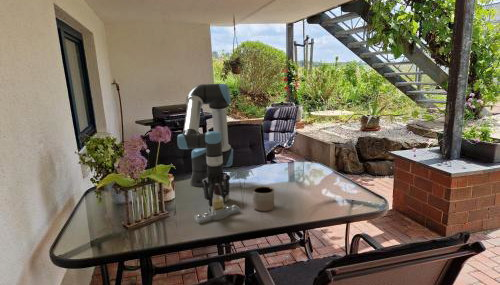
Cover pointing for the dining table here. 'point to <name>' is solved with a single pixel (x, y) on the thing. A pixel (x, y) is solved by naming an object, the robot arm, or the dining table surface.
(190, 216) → the dining table surface
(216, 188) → the coffee cup
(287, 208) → the dining table surface
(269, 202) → the planter
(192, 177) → the robot arm
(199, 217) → the chain end
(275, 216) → the dining table surface
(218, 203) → the link peg
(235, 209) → the chain end
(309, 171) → the dining table surface
